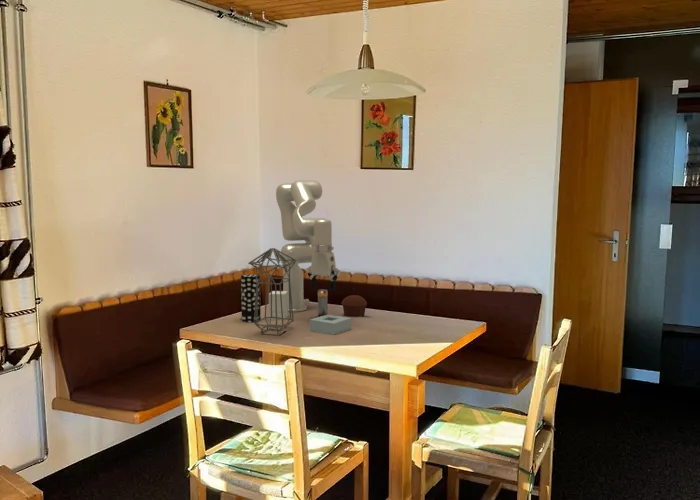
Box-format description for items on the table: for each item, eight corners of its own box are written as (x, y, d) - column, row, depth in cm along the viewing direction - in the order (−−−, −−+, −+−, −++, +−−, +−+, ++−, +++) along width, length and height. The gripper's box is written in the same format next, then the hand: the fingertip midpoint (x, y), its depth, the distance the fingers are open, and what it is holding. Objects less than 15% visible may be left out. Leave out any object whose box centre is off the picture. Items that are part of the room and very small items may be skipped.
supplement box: (288, 318, 290) (288, 290, 288) (285, 322, 282) (285, 293, 281) (272, 318, 291) (272, 290, 289) (268, 322, 283) (268, 293, 282)
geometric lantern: (299, 330, 268) (298, 246, 263) (282, 340, 253) (281, 251, 248) (264, 326, 273) (264, 244, 268) (246, 336, 259) (245, 249, 254)
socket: (327, 328, 271) (327, 314, 270) (351, 332, 264) (351, 318, 264) (309, 334, 261) (309, 319, 261) (333, 338, 254) (333, 323, 254)
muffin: (368, 315, 297) (368, 293, 296) (366, 320, 286) (366, 298, 285) (342, 314, 298) (342, 293, 297) (339, 320, 288) (339, 297, 286)
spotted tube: (259, 322, 282) (258, 277, 280) (240, 322, 282) (239, 276, 280) (262, 318, 291) (261, 274, 288) (243, 318, 291) (242, 274, 288)
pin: (321, 321, 278) (321, 289, 276) (329, 322, 275) (329, 290, 274) (315, 323, 274) (315, 290, 273) (323, 324, 272) (323, 291, 270)
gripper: (344, 249, 269) (345, 290, 271) (312, 247, 279) (312, 286, 281) (334, 250, 263) (334, 292, 265) (301, 248, 273) (301, 288, 275)
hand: (323, 289), depth 273 cm, fingers open, 9 cm apart
